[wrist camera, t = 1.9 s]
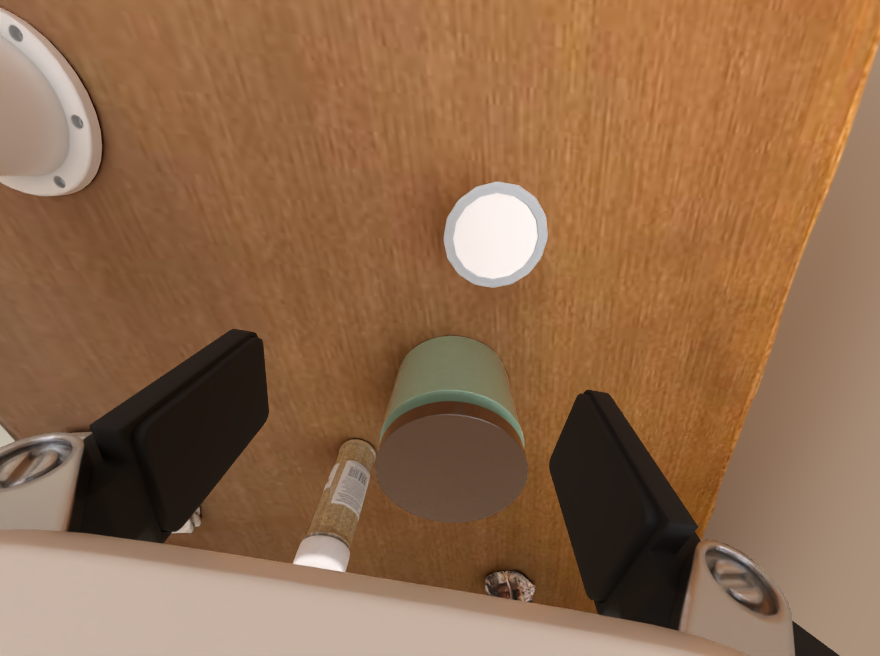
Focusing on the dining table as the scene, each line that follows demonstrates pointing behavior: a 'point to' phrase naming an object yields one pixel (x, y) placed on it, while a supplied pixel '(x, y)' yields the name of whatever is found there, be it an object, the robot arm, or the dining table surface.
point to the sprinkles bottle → (338, 509)
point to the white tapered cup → (495, 234)
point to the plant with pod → (509, 586)
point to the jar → (452, 434)
